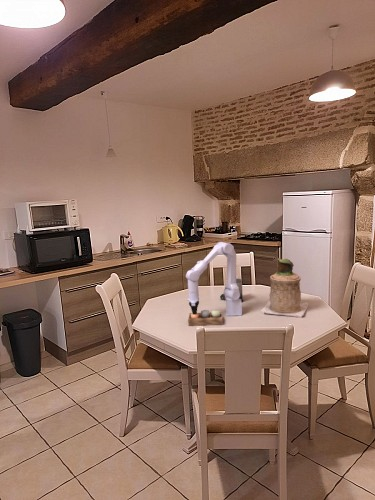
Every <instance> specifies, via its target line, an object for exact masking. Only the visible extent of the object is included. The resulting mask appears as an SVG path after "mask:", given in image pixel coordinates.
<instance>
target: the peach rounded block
mask: <svg viewBox="0 0 375 500" xmlns="http://www.w3.org/2000/svg"><path fill="white" fill-rule="evenodd" d="M190 313H191V318H199V313H200V312H197V314H194V315H193V313H192V312H190Z"/></svg>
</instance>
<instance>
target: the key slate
mask: <svg viewBox="0 0 375 500" xmlns="http://www.w3.org/2000/svg"><path fill="white" fill-rule="evenodd" d="M209 312H210V311H209V310H208V309H204V310H201V311H200V313H201V318H209Z"/></svg>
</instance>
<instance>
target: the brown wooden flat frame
mask: <svg viewBox="0 0 375 500" xmlns="http://www.w3.org/2000/svg"><path fill="white" fill-rule="evenodd" d="M191 313H192V312H190V313H189V314H188V320H187V324H188V327H201V326H202V327H203V326H206V327H207V326H223V324H224V323H223V312H222V311H220V317H214V318H212V311H209V318H201V312H198V313H199V318H191Z"/></svg>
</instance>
